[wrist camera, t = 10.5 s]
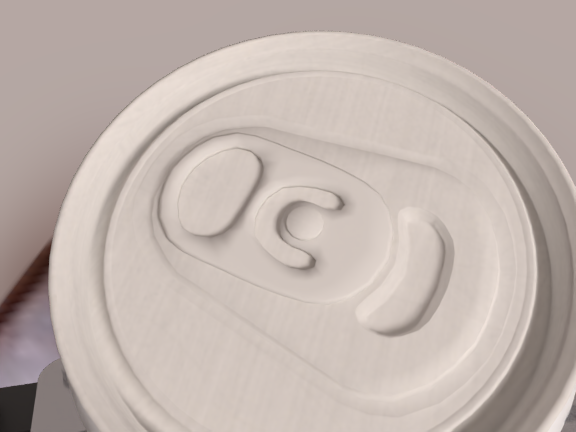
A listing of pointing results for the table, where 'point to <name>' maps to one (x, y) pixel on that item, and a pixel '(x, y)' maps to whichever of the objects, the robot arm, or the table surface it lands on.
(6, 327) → the table surface
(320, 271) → the beer can
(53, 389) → the robot arm
